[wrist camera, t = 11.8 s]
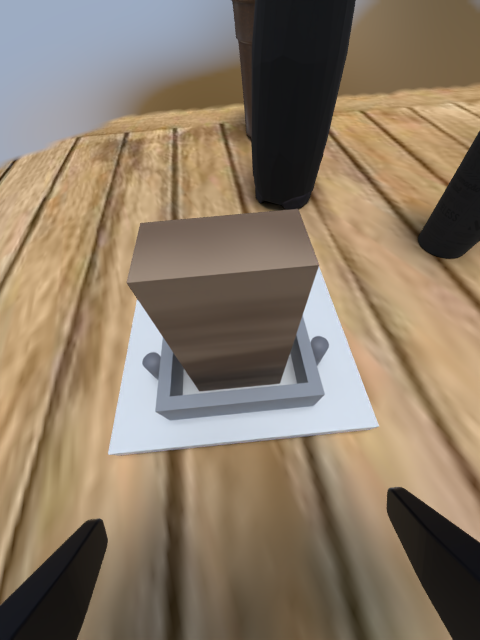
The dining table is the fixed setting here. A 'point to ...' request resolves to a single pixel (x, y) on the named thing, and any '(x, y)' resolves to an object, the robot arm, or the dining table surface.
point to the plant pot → (245, 52)
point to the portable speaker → (295, 92)
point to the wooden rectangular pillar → (226, 292)
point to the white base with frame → (241, 391)
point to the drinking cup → (456, 211)
